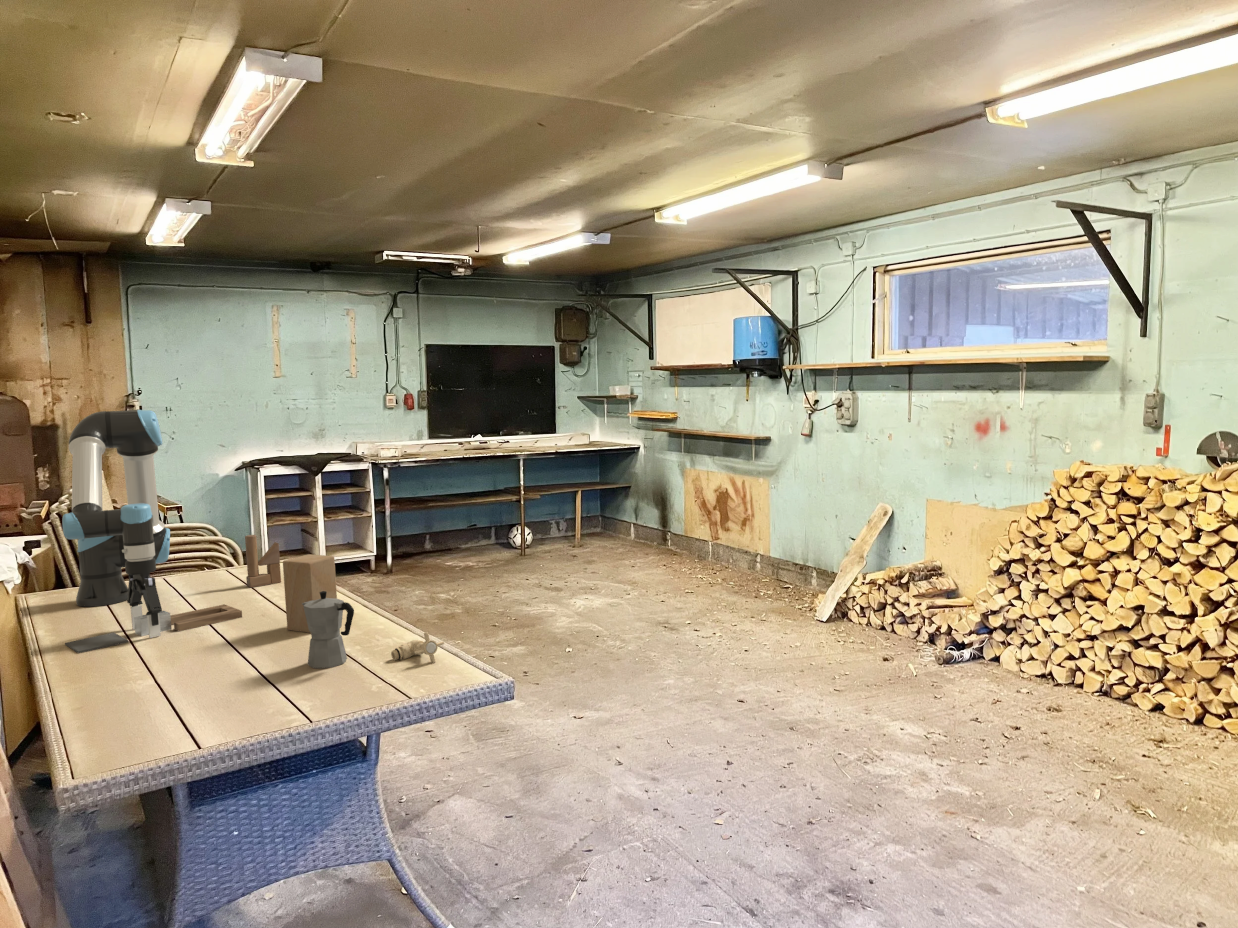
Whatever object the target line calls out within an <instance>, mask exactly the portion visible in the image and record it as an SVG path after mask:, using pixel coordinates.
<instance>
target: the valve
mask: <svg viewBox="0 0 1238 928" xmlns="http://www.w3.org/2000/svg"><path fill="white" fill-rule="evenodd" d="M429 635H430V634H429V632H423V636H424V639H425V641H424V640H419V639H413V640H411V641H408V642H407V643H403V644H401V645H399V646H398V647H396V648H394V650H391V654H390V655H391V658H392V660H393V661H397V660H399V661H401V660H405V659H409V658H411V657H412V656H420V655H423V654H424V655H425V656H426V655H428V656H429V660H430V663H433V664H434V663H436V659H435V656H434V654H436V652H437V651H438V647H441V646H443V645H444V644H445V641H440V642H439V641H438V642H436V641H434V640H430V636H429Z"/></svg>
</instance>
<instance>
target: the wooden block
mask: <svg viewBox="0 0 1238 928" xmlns="http://www.w3.org/2000/svg"><path fill="white" fill-rule="evenodd" d="M282 571H283V586H284V598H285V599H284V600H285V610H286V611H285V614H286V615H285V616H286V627H287V630H288V631H292V632H293V631H294V632H300V633H310V634H311V632H310V631H309V628H308V624H307V620H306V615H305V611H304V605H302V603H304V602H309V601H312V600H318V599H321V596H320V592H322V591H326V592H327V594H326V598H336V599H338V596H337V595H338V594H337V593H338V592H337V591H338V590H337V579H336V578H337V577H336V564H335V556H334V555H325V554H324V555H323V554H310V553H309V554H304V555H300V556H296V557H292V558H289V559H286V560H285V559H284V560H283V561H282Z"/></svg>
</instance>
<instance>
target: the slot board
mask: <svg viewBox="0 0 1238 928" xmlns="http://www.w3.org/2000/svg"><path fill="white" fill-rule="evenodd" d="M170 616H171V626H173V627H174V630H176V631H177V632H182V631H187V630H191V629H196V628H200V627H204V626H209V625H212V624H217V623H222V622H227V621H231V620H236V619H241V618H243V610H241V609H238V608H235V607H233V606H231V605H227V604H220V605H215V606H209V607H206V608H200V609H196V610H195V609H194V610H190V611H186V612H182V613H177V614H170Z"/></svg>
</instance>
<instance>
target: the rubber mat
mask: <svg viewBox="0 0 1238 928" xmlns="http://www.w3.org/2000/svg"><path fill="white" fill-rule="evenodd" d="M127 643H129V640H128V639H127V638H125V637H123V636H121V635H120V634H117V633H116V632H109V633H105V634H101V635H95V636H91V637H86V638H81V639H76V640H73V641H72V640H70V641H67V642H64V645H65V646H66V647H67V648H69V649H70V650H72V651H74V652H75V653H77V654H82V653H86V652H91V651H95V650H100V649H104V648H109V647H112V646H117V645H122V644H127Z"/></svg>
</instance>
